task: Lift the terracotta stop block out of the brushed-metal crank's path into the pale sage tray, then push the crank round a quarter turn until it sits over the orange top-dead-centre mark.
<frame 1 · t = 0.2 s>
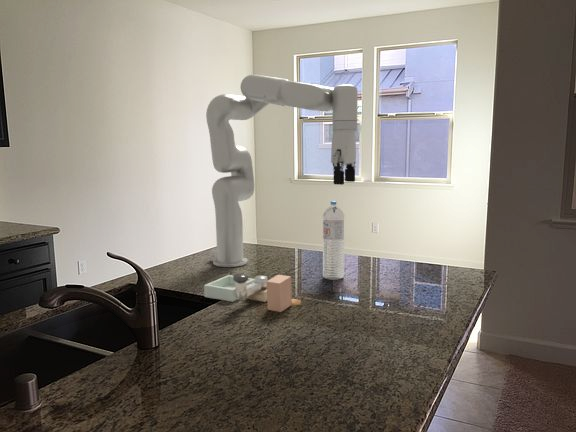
hand: (344, 182, 153), 31 cm above the worktop, fingers open, 9 cm apart
crank: (251, 281, 135), point 6 cm above the worktop, hinge at 0.0°
tray: (230, 293, 145), on the worktop
crank base: (261, 297, 141), on the worktop
stop block: (280, 307, 132), on the worktop, touching crank base
water bottle: (333, 278, 160), on the worktop
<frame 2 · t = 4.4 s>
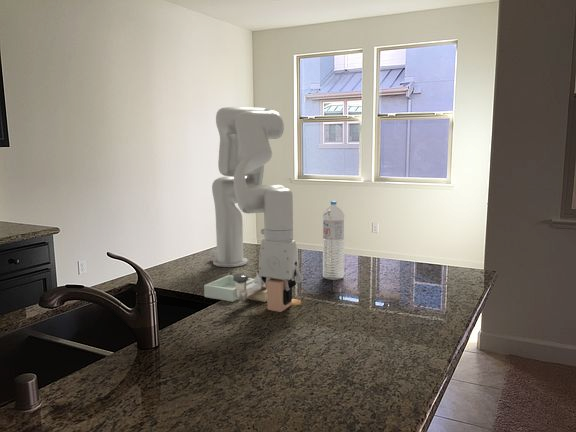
hand: (279, 301, 132), 2 cm above the worktop, fingers closed on stop block, 4 cm apart
stop block: (279, 307, 132), on the worktop, touching gripper
everything else where it was.
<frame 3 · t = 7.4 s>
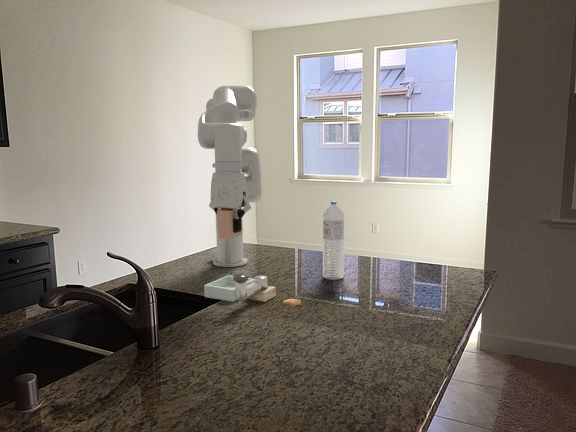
hand: (230, 230, 142), 19 cm above the worktop, fingers closed on stop block, 4 cm apart
stop block: (230, 236, 142), point 17 cm above the worktop, touching gripper
everything else where it was.
when the fingers open (4 cm above the worktop, at t = 10.7 s): stop block drops 2 cm, resting on tray.
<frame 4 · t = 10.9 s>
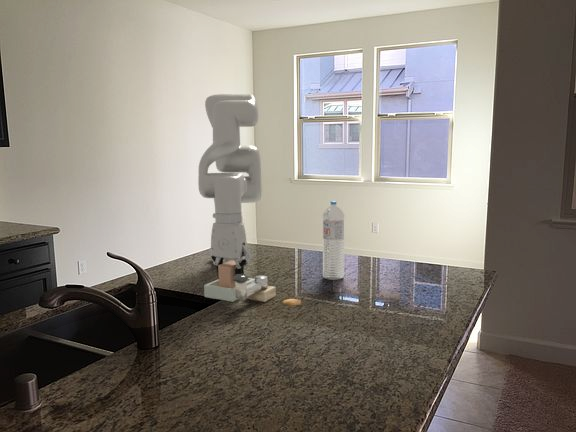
hand: (230, 278, 144), 5 cm above the worktop, fingers open, 5 cm apart
stop block: (230, 290, 145), point 1 cm above the worktop, touching tray
everything else where it was.
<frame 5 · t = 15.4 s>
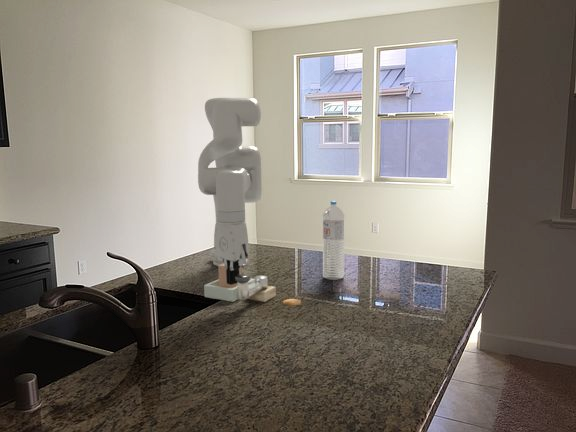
hand: (233, 283, 134), 6 cm above the worktop, fingers closed
crank: (252, 282, 135), point 6 cm above the worktop, hinge at 3.4°, touching gripper
everything else where it was.
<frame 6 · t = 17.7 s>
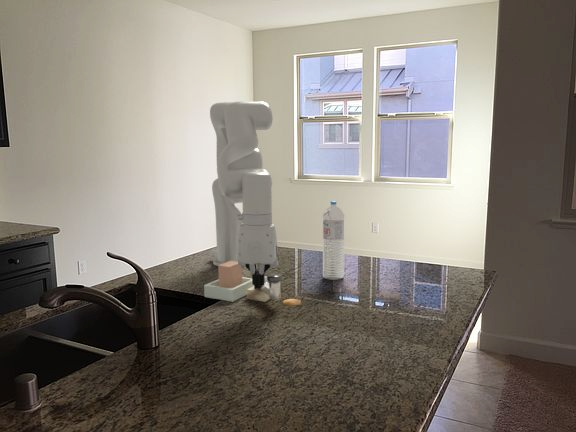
hand: (258, 287, 131), 6 cm above the worktop, fingers closed
crank: (267, 281, 135), point 6 cm above the worktop, hinge at 53.6°, touching gripper
everything else where it was.
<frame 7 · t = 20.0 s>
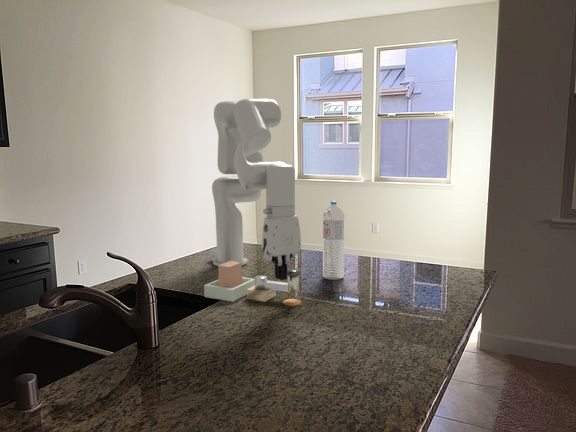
hand: (281, 278, 132), 8 cm above the worktop, fingers closed
crank: (277, 279, 138), point 6 cm above the worktop, hinge at 95.1°
everything else where it was.
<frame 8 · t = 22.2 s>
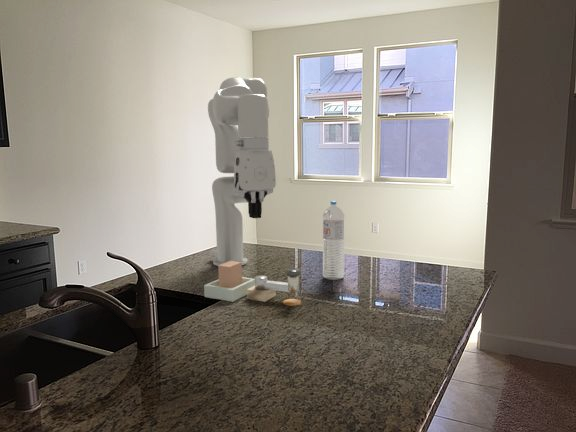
hand: (255, 217, 126), 25 cm above the worktop, fingers closed
nothing on the worktop moved.
at the end: stop block 0.1 cm off-centre on the tray, point 1.0 cm above the tray's base; stop block tilted 0°; crank at +95° (first picture: +0°) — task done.
